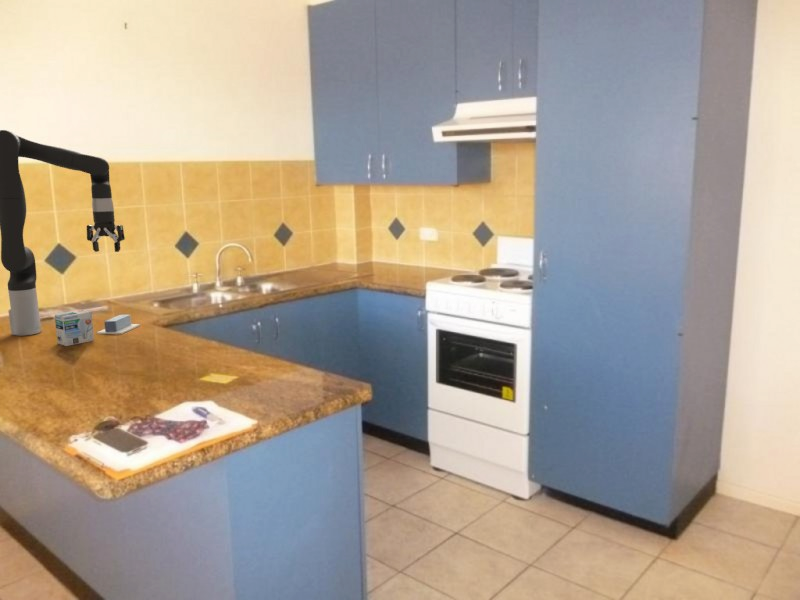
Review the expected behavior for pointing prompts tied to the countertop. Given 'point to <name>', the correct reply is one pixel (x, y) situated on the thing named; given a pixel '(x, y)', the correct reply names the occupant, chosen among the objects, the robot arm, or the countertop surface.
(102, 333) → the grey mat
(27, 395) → the countertop surface
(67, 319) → the light bulb box
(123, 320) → the blue post
